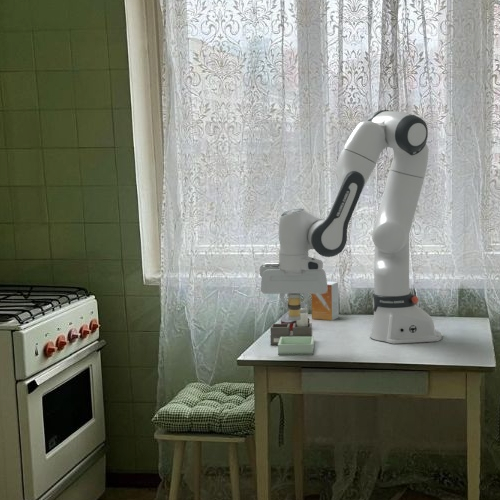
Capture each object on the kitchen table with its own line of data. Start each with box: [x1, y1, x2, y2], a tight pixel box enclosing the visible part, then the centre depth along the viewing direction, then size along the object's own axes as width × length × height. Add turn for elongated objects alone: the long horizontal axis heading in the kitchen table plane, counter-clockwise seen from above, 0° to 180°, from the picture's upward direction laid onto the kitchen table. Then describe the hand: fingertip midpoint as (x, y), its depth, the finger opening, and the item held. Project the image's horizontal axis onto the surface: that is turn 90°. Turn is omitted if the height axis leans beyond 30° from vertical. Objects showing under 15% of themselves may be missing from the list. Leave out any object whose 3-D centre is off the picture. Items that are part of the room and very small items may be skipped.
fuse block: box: [269, 322, 313, 346], centre depth 264 cm, size 13×6×6 cm, turn 84°
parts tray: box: [277, 336, 315, 356], centre depth 254 cm, size 10×10×3 cm
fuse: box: [297, 307, 309, 327], centre depth 263 cm, size 4×4×8 cm
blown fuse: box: [287, 294, 301, 321], centre depth 253 cm, size 4×4×8 cm
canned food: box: [280, 303, 310, 331], centre depth 285 cm, size 11×10×10 cm
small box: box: [310, 280, 340, 321], centre depth 298 cm, size 8×6×13 cm
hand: (294, 307), depth 253 cm, fingers closed on blown fuse, 4 cm apart
